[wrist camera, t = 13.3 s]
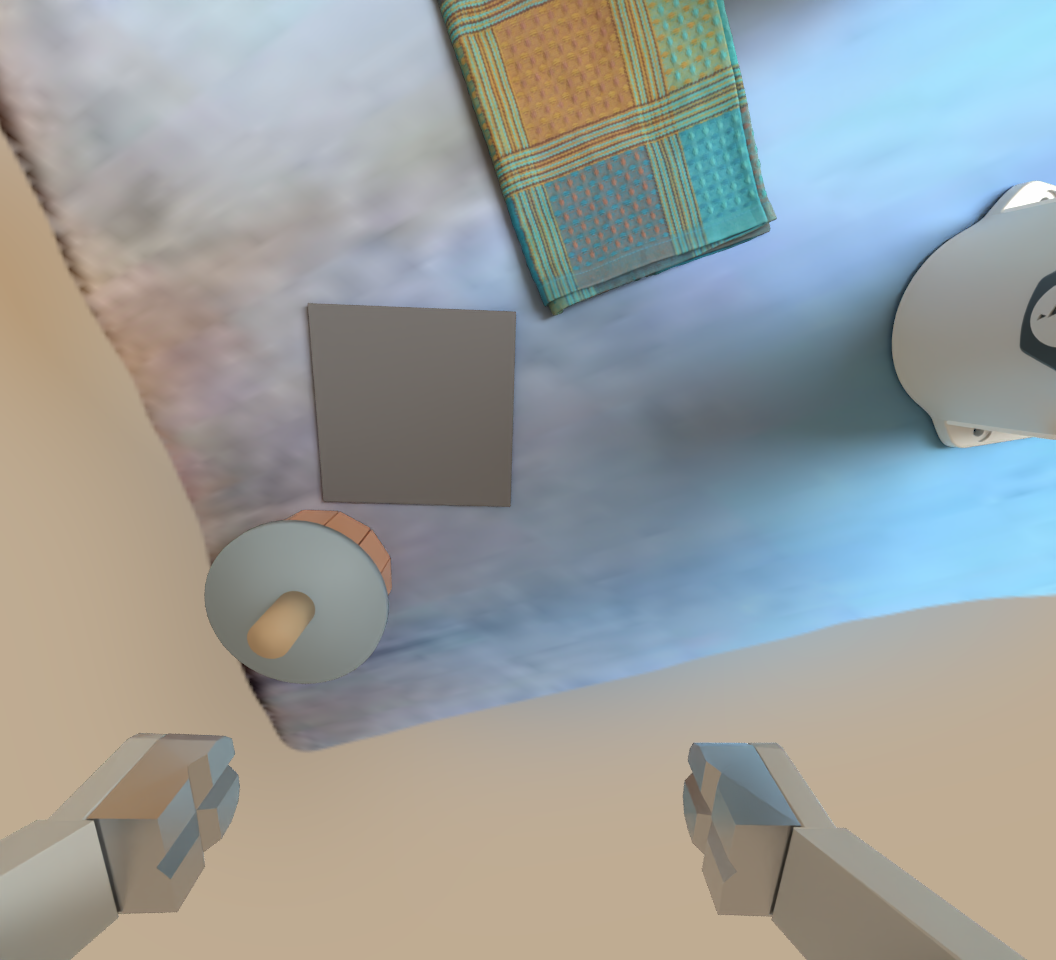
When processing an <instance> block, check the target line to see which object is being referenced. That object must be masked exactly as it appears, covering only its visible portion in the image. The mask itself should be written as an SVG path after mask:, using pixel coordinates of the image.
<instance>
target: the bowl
mask: <svg viewBox="0 0 1056 960" xmlns="http://www.w3.org/2000/svg"><path fill="white" fill-rule="evenodd" d="M285 520H301V521H308V522H313V523H318V524H321V525H324V526H327V527H330V528H332V529H334V530H336V531H338V532H340V533H342V534H344V535H345V536H347V537H349V538H350V539H352V540H353V541H354V542H355V543H357V544H358V545H359V546H360V547H361V548H362V549H363V550H364V551H365V552H366V553H367V554H368V555H369V556H370V557H371V559H372V560H373V561H374V563H375V564H376V566H377V567H378V569H379V571H380V573H381V575H382V577H383V579H384V582H385V585H386V589H387V592H388V595H389V593H390V591H391V589H392V582H391V558H390V556H389V554H388V553H387V551H386V550H385V548H384V547H383V545H382V544H381V542H380V541H379V539H378V538H377V536H376V535H375V533H374V532H373V530H370V528H369V527H367V526H366V525H364V524H362V523H360V522H358V521H356V520H355V519H353V518H351V517H349V516H347V515H346V514H344V513H342V512H339V513H338V511H321V510H303V511H300V512H298V513H296V514H294V515H293V516H291V517H289V518H287V519H285ZM369 530H370V531H369Z"/></svg>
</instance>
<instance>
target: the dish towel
mask: <svg viewBox="0 0 1056 960" xmlns="http://www.w3.org/2000/svg"><path fill="white" fill-rule="evenodd" d="M438 4H439V7H440V10H441V13H442V16H443V18H444V21H445V24H446V27H447V30H448V33H449V36H450V39H451V42H452V45H453V48H454V51H455V53H456V57H457V60H458V62H459V64H460V67H461V70H462V74H463V76H464V79H465V81H466V84H467V88H468V92H469V94H470V96H471V100H472V103H473V108H474V110H475V112H476V114H477V118H478V123H479V125H480V127H481V129H482V131H483V135H484V138H485V140H486V142H487V145H488V148H489V153H490V156H491V158H492V161H493V165H494V168H495V171H496V174H497V177H498V180H499V183H500V187H501V190H502V193H503V196H504V199H505V201H506V204H507V208H508V211H509V214H510V217H511V221H512V224H513V227H514V229H515V231H516V234H517V238H518V240H519V242H520V244H521V247H522V251H523V253H524V255H525V258H526V262H527V266H528V268H529V269H530V272H531V275H532V278H533V280H534V281H535V283H536V285H537V287H538V290H539V293H540V296H541V298H542V301H543V304H544V306H549V307H550V310H551V312H552V314H553V315H558V314H560V313H562V312H563V309H564V308H566V307H568V306H570V305H573V304H575V303H578V302H580V301H583V300H586V299H588V298H591V297H594V296H596V295H599V294H601V293H604V292H606V291H609V290H611V289H614V288H616V287H619V286H621V285H624V284H627V283H630V282H632V281H637V280H639V279H641V278H642V277H648V276H651V275H656V274H659V273H661V272H663V271H666V270H668V269H670V268H673V267H675V266H679V265H683V264H686V263H689V262H691V261H694V260H697V259H699V258H702V257H705V256H708V255H711V254H714V253H717V252H720V251H723V250H726V249H729V248H731V247H734V246H736V245H738V244H741V243H744V242H746V241H749V240H751V239H753V238H755V237H757V236H759V235H761V234H764V233H767V232H769V231H770V225H769V222H771V221H773V220H775V219H777V217H776V215H775V213H774V210H773V208H772V206H771V204H770V202H769V200H768V198H767V194H766V191H765V187H764V183H763V178H762V176H761V170H760V161H759V159H758V155H757V147H756V144H755V141H754V132H753V129H752V126H751V120H750V114H749V110H748V104H747V99H746V94H745V90H744V86H743V81H742V76H741V72H740V68H739V64H738V61H737V56H736V51H735V48H734V44H733V37H732V34H731V31H730V26H729V23H728V18H727V15H726V11H725V6H724V1H723V0H438Z"/></svg>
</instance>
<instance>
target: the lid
mask: <svg viewBox="0 0 1056 960" xmlns="http://www.w3.org/2000/svg"><path fill="white" fill-rule="evenodd" d="M205 607H206V611H207V616H208V618H209V621H210V624H211V626H212V628H213V630H214V632H215V634H216V635H217V637H218V639H219V640H220V641H221V643H222V644H223V646H224V647H225V648H226V649H227V650H228V651H229V652H230V653H231V654H232V655H233V656H234V657H235V658H236V659H238V660H239V661H240V662H241V663H243V664H244V665H246V666H247V667H249V668H250V669H252V670H254V671H256V672H258V673H260V674H262V675H265V676H267V677H269V678H273V679H276V680H280V681H284V682H290V683H300V684H311V683H320V682H326V681H330V680H334V679H337V678H339V677H342V676H344V675H346V674H348V673H350V672H352V671H353V670H355V669H356V668H358V667H359V666H360V665H361V664H363V663H364V662H365V661H366V660H367V659H368V658H369V657H370V655H371V654H372V653H373V651H374V650H375V648H376V647H377V645H378V643H379V641H380V639H381V637H382V635H383V632H384V630H385V627H386V624H387V619H388V614H389V600H388V592H387V589H386V585H385V582H384V579H383V577H382V575H381V573H380V571H379V569H378V567H377V566H376V564H375V563H374V561H373V560H372V559H371V557H370V556H369V555H368V554H367V553H366V552H365V551H364V550H363V549H362V548H361V547H360V546H359V545H358V544H357V543H355V542H354V541H353V540H352V539H350V538H349V537H347V536H345V535H344V534H342V533H340V532H338V531H336V530H334V529H332V528H330V527H327V526H324V525H321V524H318V523H313V522H308V521H301V520H281V521H274V522H269V523H266V524H262V525H259V526H257V527H255V528H252V529H250V530H248V531H247V532H245V533H244V534H242V535H240V536H239V537H237V538H236V539H235V540H233V541H232V542H231V543H229V544H228V545H227V546H226V547H225V548H224V549H223V550H222V551H221V552H220V553H219V555H218V556H217V557H216V559H215V560H214V562H213V564H212V565H211V568H210V570H209V573H208V575H207V580H206V584H205Z"/></svg>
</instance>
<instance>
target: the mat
mask: <svg viewBox="0 0 1056 960" xmlns="http://www.w3.org/2000/svg"><path fill="white" fill-rule="evenodd" d="M308 314H309V326H310V339H311V352H312V364H313V377H314V389H315V402H316V414H317V427H318V440H319V452H320V465H321V477H322V490H323V501H328V502H363V503H398V504H433V505H467V506H502V507H510V503H511V468H512V434H513V399H514V365H515V330H516V312H510V311H486V310H461V309H436V308H412V307H387V306H362V305H338V304H313V303H308Z"/></svg>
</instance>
